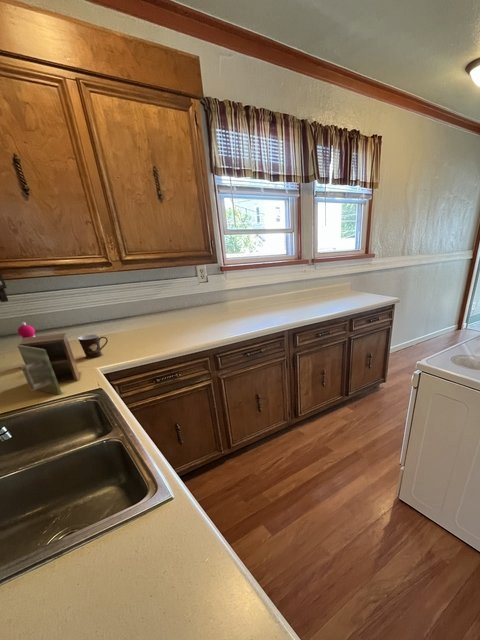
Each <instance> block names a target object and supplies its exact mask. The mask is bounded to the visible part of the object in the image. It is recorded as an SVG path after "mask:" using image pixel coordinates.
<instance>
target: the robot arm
mask: <svg viewBox="0 0 480 640" xmlns="http://www.w3.org/2000/svg"><path fill="white" fill-rule="evenodd" d="M3 277H4V276H3V275H2V271H0V302H1V303H6V302H9V299H8V296H7V293H6V289H8V288H7V287H8V286H7V285H6V282H5V279H4V278H3Z"/></svg>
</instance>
